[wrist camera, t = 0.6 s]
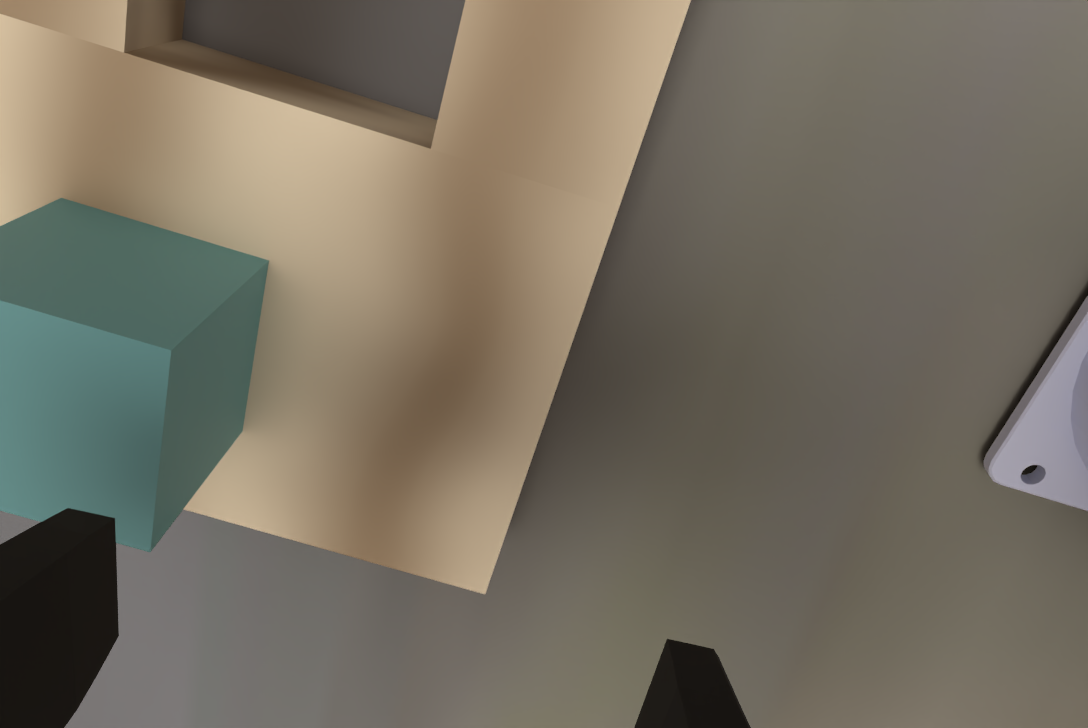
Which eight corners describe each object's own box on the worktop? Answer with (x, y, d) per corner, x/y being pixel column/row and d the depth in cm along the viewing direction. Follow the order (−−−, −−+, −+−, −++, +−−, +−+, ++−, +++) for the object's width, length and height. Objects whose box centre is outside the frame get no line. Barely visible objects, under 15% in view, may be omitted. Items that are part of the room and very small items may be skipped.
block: (269, 260, 16) (171, 350, 13) (242, 431, 18) (150, 551, 15) (61, 197, 16) (-98, 271, 12) (55, 377, 18) (-86, 486, 14)
